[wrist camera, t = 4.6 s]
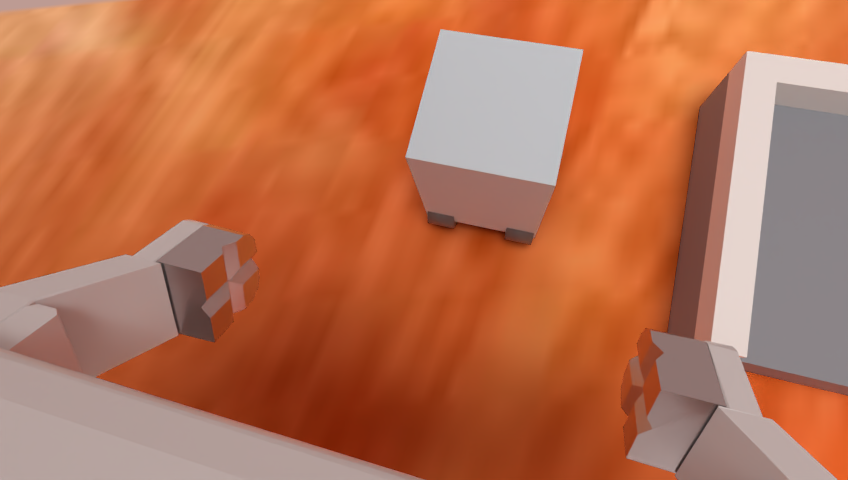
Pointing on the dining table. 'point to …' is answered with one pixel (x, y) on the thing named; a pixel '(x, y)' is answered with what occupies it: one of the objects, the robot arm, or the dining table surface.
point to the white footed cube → (492, 131)
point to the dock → (770, 221)
